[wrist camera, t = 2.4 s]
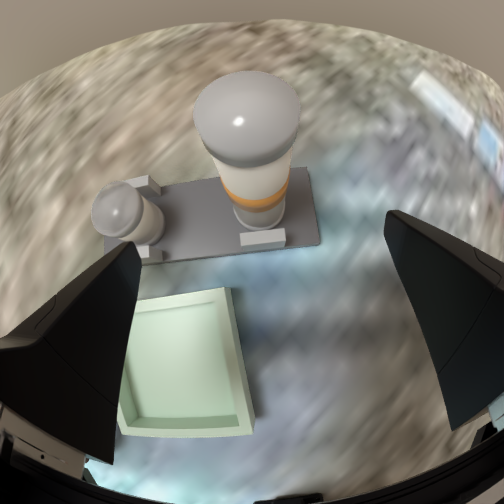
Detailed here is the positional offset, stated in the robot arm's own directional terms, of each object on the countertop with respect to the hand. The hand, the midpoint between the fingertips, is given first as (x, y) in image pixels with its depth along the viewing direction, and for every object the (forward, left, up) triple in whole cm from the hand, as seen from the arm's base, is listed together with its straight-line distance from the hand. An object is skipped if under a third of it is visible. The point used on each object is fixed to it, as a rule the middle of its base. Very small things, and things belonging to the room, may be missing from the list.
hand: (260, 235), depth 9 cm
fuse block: (+4, +4, -11) cm, 13 cm away
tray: (-6, +8, -11) cm, 15 cm away
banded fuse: (+4, 0, -10) cm, 11 cm away
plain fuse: (+5, +9, -10) cm, 14 cm away
